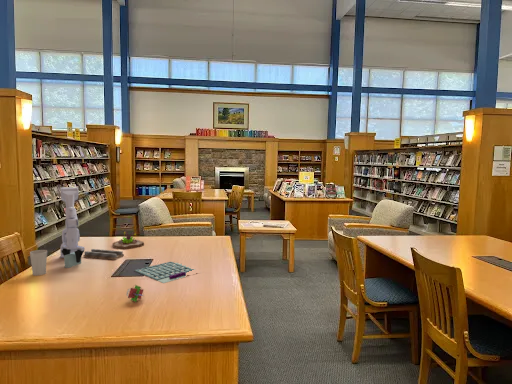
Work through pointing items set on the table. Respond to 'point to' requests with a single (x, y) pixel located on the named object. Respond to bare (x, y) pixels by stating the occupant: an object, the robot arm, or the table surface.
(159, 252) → the table surface
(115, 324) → the table surface
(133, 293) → the geometric puzzle
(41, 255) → the cup
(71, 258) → the door panel
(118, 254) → the door track
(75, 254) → the robot arm
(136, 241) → the plant
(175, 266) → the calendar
